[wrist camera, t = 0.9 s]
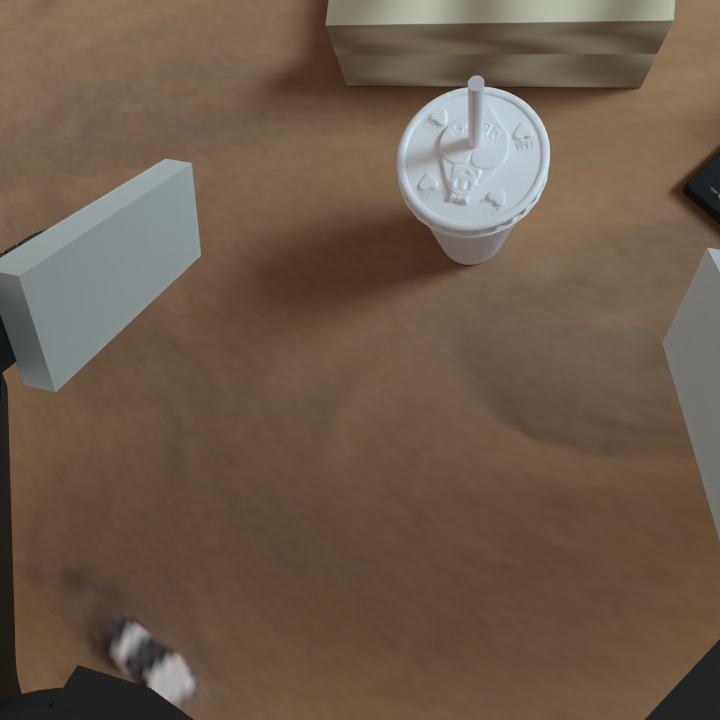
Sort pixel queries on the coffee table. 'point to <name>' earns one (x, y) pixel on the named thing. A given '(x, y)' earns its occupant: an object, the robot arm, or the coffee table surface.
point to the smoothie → (473, 168)
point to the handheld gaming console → (706, 188)
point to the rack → (498, 41)
